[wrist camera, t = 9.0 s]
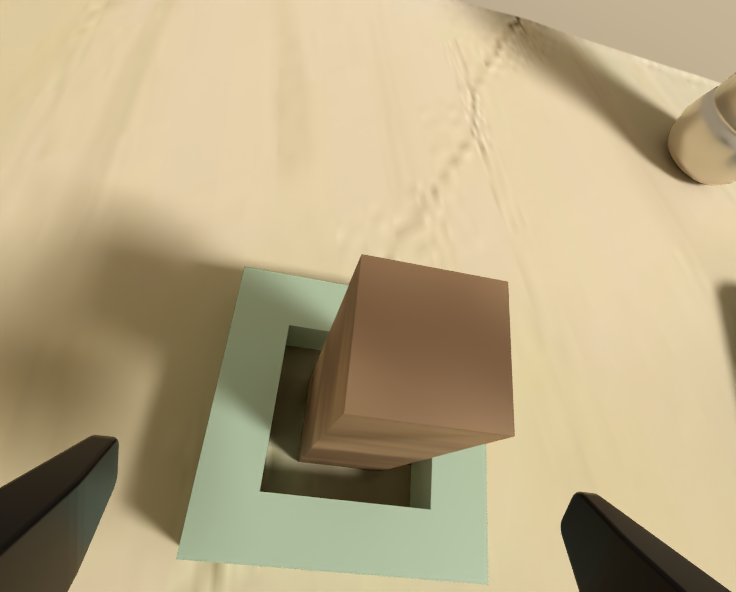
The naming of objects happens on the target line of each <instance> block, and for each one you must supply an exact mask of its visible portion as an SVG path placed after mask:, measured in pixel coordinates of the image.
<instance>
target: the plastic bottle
mask: <svg viewBox="0 0 736 592" xmlns="http://www.w3.org/2000/svg"><path fill="white" fill-rule="evenodd" d="M668 148H669V152H670V154H671V156H672V158H673V160H674V161H675V163H676V164H677V165H678V167H679V168H680V169H681V170H682V171H683V172H684V173H686V174H687V175H688V176H689V177H691V178H693V179H694V180H696V181H698V182H700V183H703V184H707V185H721V184H730V183H732V182H734V181H736V73H734V74H733V75H732V76H731V77H729V78H728V79H727V80H726V81H725V82H723V83H722V84H721V85H719V86H717V87H716V88H714V89H712V90H711V91H709V92H708V93H706V94H705V95H703V96H702V97H700V98H699V99H698V100H696V101H695V102H694V103H692V104H691V105H690V106H688V107H687V108H686V109H685V110H684V112H683V113H682V114H681V115H680V117H679V118H678V119H677V120H676V122H675V123H674V124H673V126H672V128H671V131H670V135H669V139H668Z"/></svg>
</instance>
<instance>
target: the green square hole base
mask: <svg viewBox="0 0 736 592" xmlns="http://www.w3.org/2000/svg"><path fill="white" fill-rule="evenodd" d="M348 286H349V285H344V284H338V283H333V282H327V281H322V280H316V279H310V278H305V277H299V276H294V275H288V274H282V273H277V272H271V271H266V270H260V269H255V268H249V267H244V271H243V275H242V280H241V284H240V288H239V293H238V297H237V301H236V305H235V310H234V314H233V318H232V322H231V327H230V331H229V335H228V340H227V344H226V348H225V352H224V357H223V361H222V365H221V369H220V374H219V378H218V382H217V386H216V391H215V395H214V399H213V404H212V408H211V412H210V416H209V421H208V425H207V429H206V433H205V438H204V442H203V446H202V451H201V455H200V459H199V463H198V468H197V472H196V476H195V480H194V485H193V489H192V493H191V497H190V502H189V506H188V510H187V515H186V519H185V523H184V527H183V532H182V536H181V540H180V544H179V549H178V553H177V557H176V559H180V560H192V561H204V562H216V563H229V564H241V565H253V566H265V567H278V568H290V569H302V570H314V571H326V572H339V573H351V574H363V575H375V576H388V577H400V578H412V579H424V580H436V581H449V582H461V583H473V584H485V585H488V538H487V470H486V444H483V445H479V446H475V447H471V448H467V449H464V450H460V451H456V452H452V453H448V454H444V455H441V456H437V457H433V458H429V459H425V460H421V461H418V462H414V463H412V469H411V489H410V507H401V506H392V505H382V504H373V503H364V502H354V501H345V500H335V499H326V498H317V497H307V496H298V495H288V494H279V493H270V492H260V487H261V481H262V476H263V470H264V464H265V459H266V453H267V447H268V442H269V436H270V430H271V425H272V419H273V414H274V408H275V402H276V397H277V391H278V385H279V380H280V374H281V368H282V363H283V357H284V351H285V346H286V345H289V346H295V347H302V348H308V349H315V350H321V351H322V348H323V346H324V343H325V341H326V339H327V336H328V334H329V331H330V329H331V327H332V324H333V322H334V319H335V317H336V315H337V312H338V310H339V307H340V305H341V303H342V300H343V298H344V295H345V293H346V291H347V288H348Z"/></svg>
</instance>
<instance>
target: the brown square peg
mask: <svg viewBox="0 0 736 592" xmlns="http://www.w3.org/2000/svg"><path fill="white" fill-rule="evenodd" d="M513 436H515V433H514V409H513V386H512V363H511V339H510V316H509V293H508V282H507V281H501V280H496V279H491V278H485V277H480V276H475V275H469V274H464V273H459V272H454V271H448V270H443V269H438V268H432V267H427V266H422V265H416V264H411V263H406V262H400V261H395V260H390V259H384V258H379V257H374V256H368V255H363V254H362V255H361V257H360V260H359V262H358V264H357V267H356V269H355V272H354V274H353V276H352V279H351V281H350V283H349V286H348V288H347V291H346V293H345V295H344V298H343V300H342V303H341V305H340V307H339V310H338V312H337V315H336V317H335V319H334V322H333V324H332V327H331V329H330V331H329V334H328V336H327V339H326V341H325V343H324V346H323V348H322V351H321V353H320V355H319V358H318V360H317V363H316V365H315V367H314V370H313V372H312V375H311V377H310V382H309V389H308V396H307V403H306V409H305V416H304V423H303V430H302V437H301V444H300V451H299V458H298V462H306V463H315V464H324V465H332V466H341V467H350V468H359V469H367V470H376V471H383V470H387V469H391V468H395V467H398V466H402V465H406V464H410V463H414V462H418V461H421V460H425V459H429V458H433V457H437V456H441V455H444V454H448V453H452V452H456V451H460V450H464V449H467V448H471V447H475V446H479V445H483V444H487V443H490V442H494V441H498V440H502V439H506V438H509V437H513Z"/></svg>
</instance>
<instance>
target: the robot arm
mask: <svg viewBox="0 0 736 592" xmlns="http://www.w3.org/2000/svg"><path fill="white" fill-rule="evenodd" d="M118 450H119V443H118V440H117V439H116V438H115V437H109V436H101V435H93V436H90V437H88V438H86V439H85V440H83V441H81V442H79V443H78V444H76V445H74V446H72V447H71V448H69V449H67V450H65V451H64V452H62V453H60V454H58V455H57V456H55V457H53V458H51V459H50V460H48V461H46V462H44V463H43V464H41V465H39V466H37V467H36V468H34V469H32V470H30V471H29V472H27V473H25V474H23V475H22V476H20V477H18V478H16V479H15V480H13V481H11V482H9V483H8V484H6V485H4V486H2V487H1V488H0V592H68V590H69V588H70V586H71V584H72V582H73V580H74V578H75V576H76V575H77V573H78V570H79V568H80V566H81V564H82V561H83V559H84V557H85V554H86V552H87V550H88V547H89V545H90V543H91V540H92V538H93V536H94V533H95V531H96V529H97V526H98V524H99V522H100V519H101V517H102V515H103V512H104V510H105V508H106V505H107V503H108V501H109V498H110V496H111V494H112V491H113V489H114V486H115V483H116V479H117V473H118ZM561 534H562V537H563V540H564V544H565V547H566V550H567V553H568V556H569V560H570V563H571V566H572V569H573V573H574V576H575V579H576V582H577V585H578V589H579V592H731V591H729V590H728V589H727V588H725V587H724V586H723V585H721V584H720V583H719V582H717V581H716V580H714V579H713V578H712V577H710V576H709V575H708V574H706V573H705V572H703V571H702V570H701V569H699V568H698V567H697V566H695V565H694V564H692V563H691V562H690V561H688V560H687V559H686V558H684V557H683V556H681V555H680V554H679V553H677V552H676V551H675V550H673V549H672V548H670V547H669V546H668V545H666V544H665V543H664V542H662V541H661V540H659V539H658V538H657V537H655V536H654V535H653V534H651V533H650V532H648V531H647V530H646V529H644V528H643V527H642V526H640V525H639V524H637V523H636V522H635V521H633V520H632V519H631V518H629V517H628V516H626V515H625V514H624V513H622V512H621V511H620V510H618V509H617V508H615V507H614V506H613V505H611V504H610V503H609V502H607V501H606V500H605V499H603V498H602V497H600V496H599V495H597V494H594V493H587V492H577V493H575V494H574V495H573V497H572V499H571V501H570V503H569V505H568V508H567V510H566V512H565V514H564V516H563V518H562V521H561Z"/></svg>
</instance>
